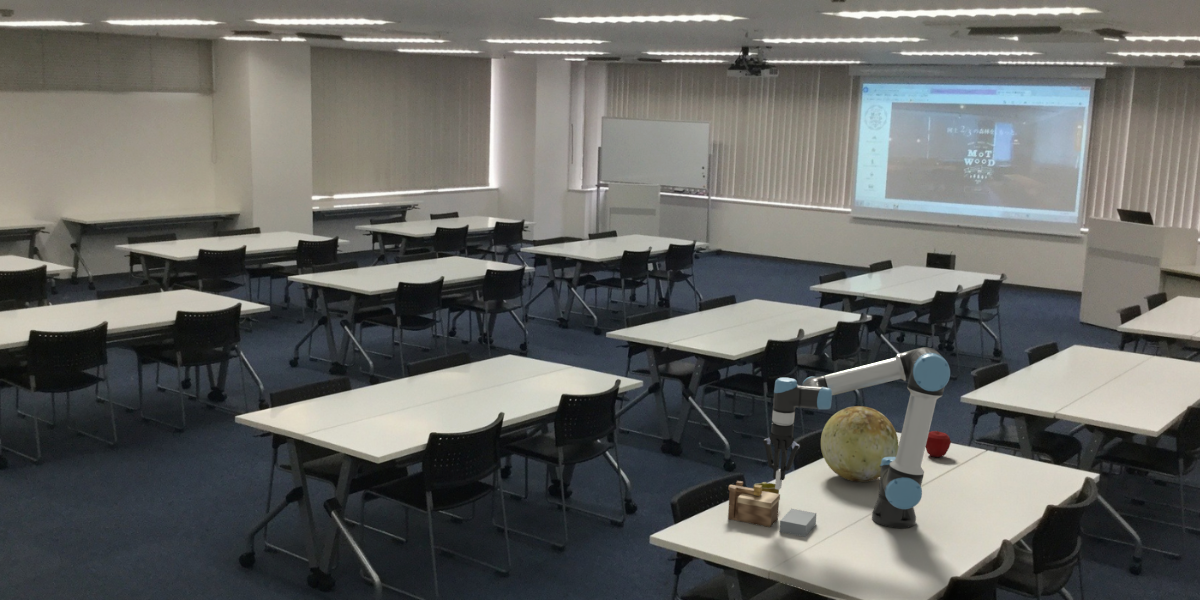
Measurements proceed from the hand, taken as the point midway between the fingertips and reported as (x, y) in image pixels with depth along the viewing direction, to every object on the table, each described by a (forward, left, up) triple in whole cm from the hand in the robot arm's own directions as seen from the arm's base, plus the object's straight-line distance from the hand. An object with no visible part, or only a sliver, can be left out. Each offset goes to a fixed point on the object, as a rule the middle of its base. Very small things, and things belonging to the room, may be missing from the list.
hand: (778, 488), depth 362 cm
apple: (-37, -117, -13) cm, 123 cm away
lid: (+7, 0, -6) cm, 9 cm away
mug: (+9, -17, -13) cm, 24 cm away
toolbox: (+8, 0, -13) cm, 15 cm away
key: (+12, 0, -4) cm, 13 cm away
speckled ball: (-14, -65, -13) cm, 68 cm away
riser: (-8, 0, -13) cm, 15 cm away
